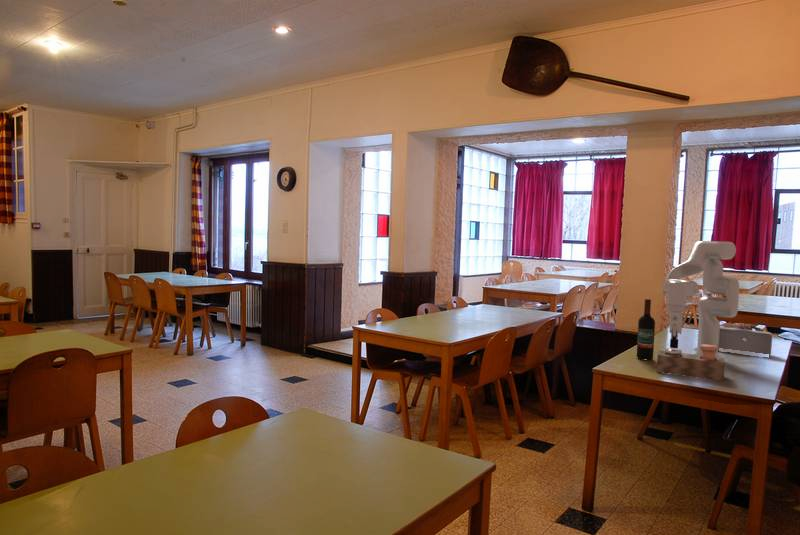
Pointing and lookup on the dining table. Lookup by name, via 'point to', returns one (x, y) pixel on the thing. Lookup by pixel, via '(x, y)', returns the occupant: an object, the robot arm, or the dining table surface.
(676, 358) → the press block
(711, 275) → the robot arm
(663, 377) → the dining table surface
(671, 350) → the steel plunger
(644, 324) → the wine bottle
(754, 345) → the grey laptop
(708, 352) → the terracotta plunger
